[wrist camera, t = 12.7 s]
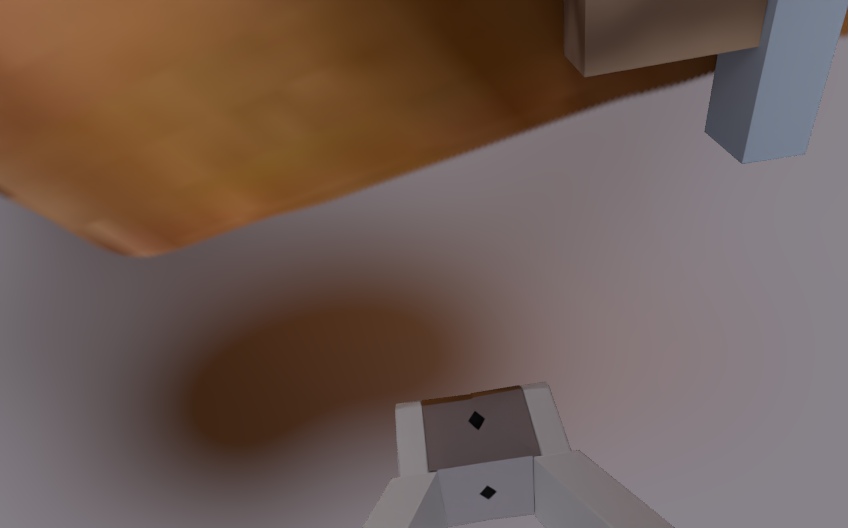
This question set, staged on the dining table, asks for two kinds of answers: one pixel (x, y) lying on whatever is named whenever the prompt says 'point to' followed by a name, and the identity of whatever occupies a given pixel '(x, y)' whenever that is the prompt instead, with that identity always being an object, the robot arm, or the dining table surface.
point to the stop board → (775, 81)
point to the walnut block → (656, 31)
